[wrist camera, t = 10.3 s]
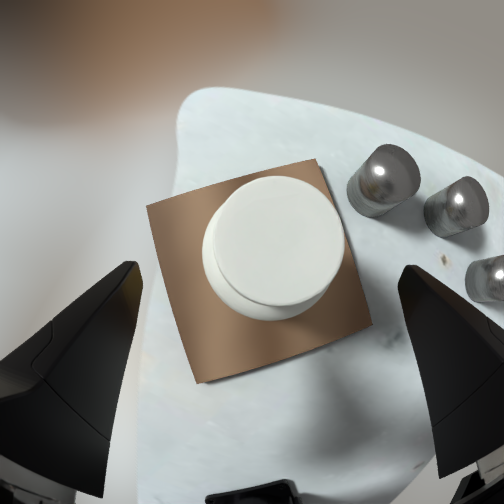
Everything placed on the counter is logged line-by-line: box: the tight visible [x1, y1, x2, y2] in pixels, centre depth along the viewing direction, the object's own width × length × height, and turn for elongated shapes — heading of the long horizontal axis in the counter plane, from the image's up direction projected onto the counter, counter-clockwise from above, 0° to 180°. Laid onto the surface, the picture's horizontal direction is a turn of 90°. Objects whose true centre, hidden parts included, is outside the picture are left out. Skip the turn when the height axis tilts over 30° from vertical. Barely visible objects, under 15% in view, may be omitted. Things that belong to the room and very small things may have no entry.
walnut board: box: [146, 159, 373, 384], centre depth 18 cm, size 12×12×1 cm
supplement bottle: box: [202, 176, 345, 321], centre depth 13 cm, size 5×5×10 cm
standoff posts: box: [347, 144, 504, 302], centre depth 17 cm, size 6×17×4 cm, turn 58°
